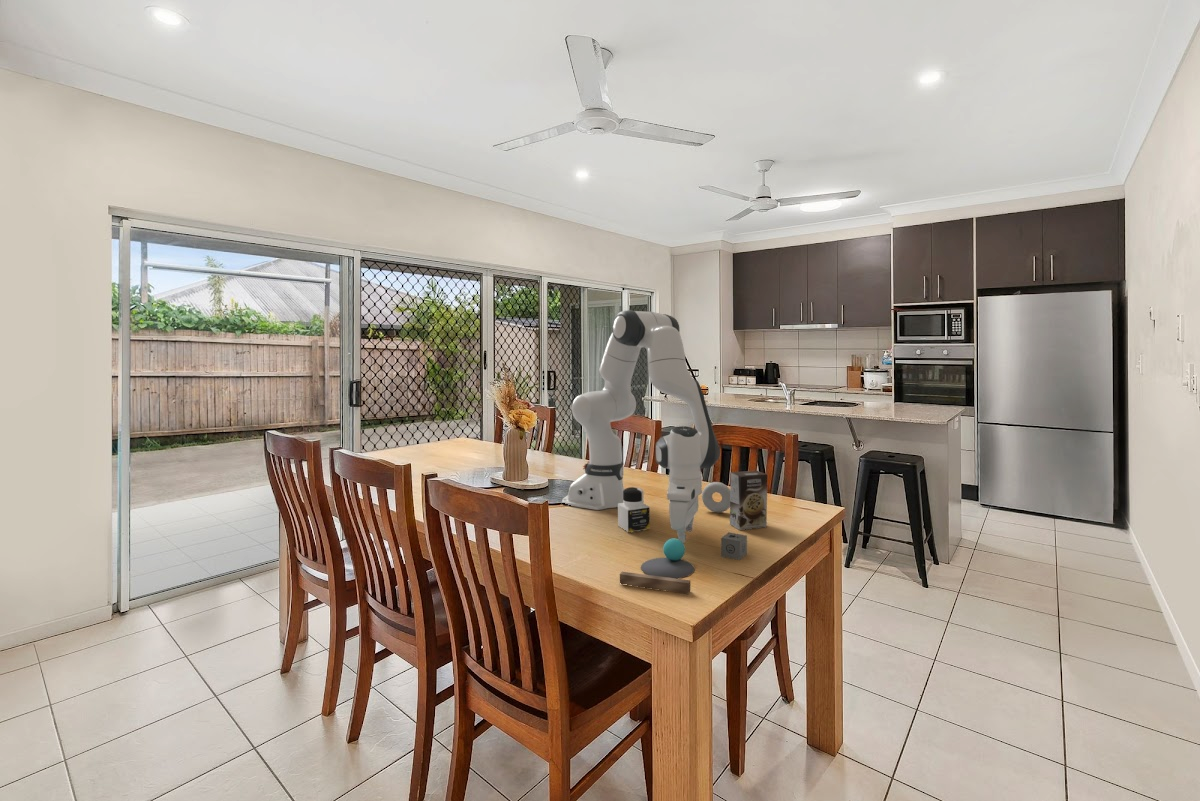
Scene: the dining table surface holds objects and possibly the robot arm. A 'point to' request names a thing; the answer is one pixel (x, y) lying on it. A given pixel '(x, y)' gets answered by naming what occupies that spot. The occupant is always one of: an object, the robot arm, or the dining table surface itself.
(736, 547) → the gray cube
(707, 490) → the donut
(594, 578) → the dining table surface
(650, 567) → the disc
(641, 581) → the stopper strip
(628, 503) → the medicine bottle
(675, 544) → the ball
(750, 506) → the cookie box
